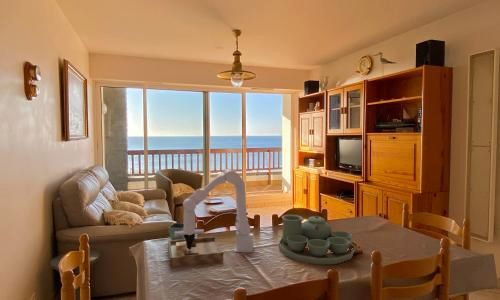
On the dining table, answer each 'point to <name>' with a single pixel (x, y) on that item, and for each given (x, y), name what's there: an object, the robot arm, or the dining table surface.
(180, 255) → the walnut box
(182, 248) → the maple block
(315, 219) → the tea set
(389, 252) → the dining table surface
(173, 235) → the flower pot
